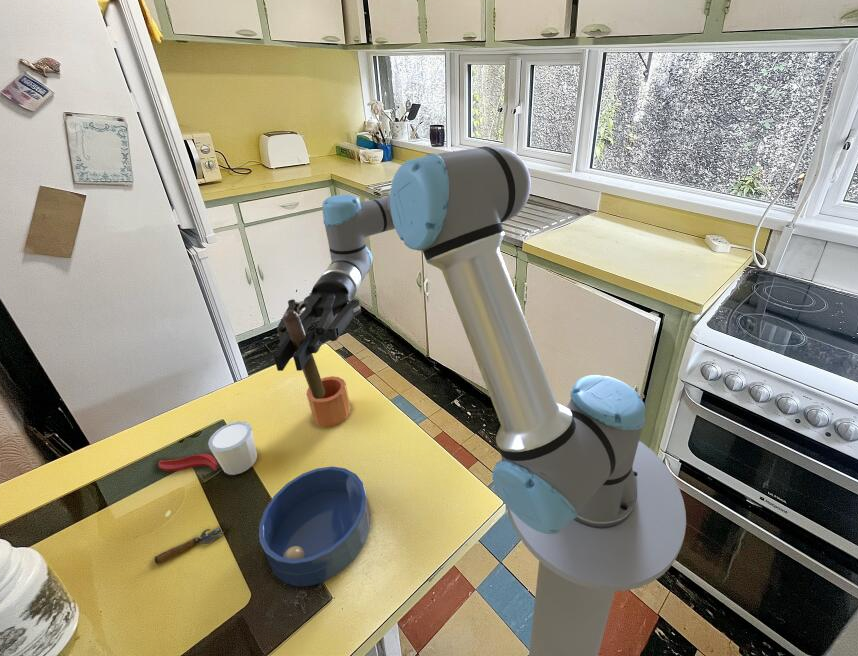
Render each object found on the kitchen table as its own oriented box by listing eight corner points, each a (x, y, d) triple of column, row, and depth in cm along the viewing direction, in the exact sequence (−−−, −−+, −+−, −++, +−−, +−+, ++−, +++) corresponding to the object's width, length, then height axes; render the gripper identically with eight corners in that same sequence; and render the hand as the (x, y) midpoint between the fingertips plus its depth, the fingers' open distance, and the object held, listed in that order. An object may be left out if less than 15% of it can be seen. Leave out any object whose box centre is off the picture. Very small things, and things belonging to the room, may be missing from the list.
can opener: (155, 566, 62) (153, 561, 61) (158, 551, 63) (156, 547, 63) (225, 537, 65) (223, 533, 65) (226, 524, 67) (224, 520, 67)
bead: (305, 546, 61) (300, 571, 59) (307, 544, 63) (302, 568, 62) (283, 546, 60) (278, 572, 58) (286, 545, 62) (281, 569, 61)
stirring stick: (328, 392, 75) (300, 308, 63) (322, 402, 73) (291, 317, 61) (317, 390, 75) (286, 306, 63) (310, 400, 73) (278, 315, 61)
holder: (356, 402, 92) (351, 378, 88) (339, 429, 85) (334, 404, 82) (324, 398, 93) (318, 374, 89) (305, 424, 86) (299, 399, 83)
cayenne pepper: (226, 460, 78) (223, 453, 77) (205, 482, 74) (202, 474, 73) (175, 447, 80) (171, 440, 79) (152, 467, 76) (148, 460, 75)
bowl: (384, 496, 72) (380, 473, 69) (343, 595, 58) (336, 571, 56) (304, 483, 74) (297, 461, 71) (246, 577, 60) (235, 553, 58)
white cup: (210, 472, 76) (198, 446, 72) (240, 443, 81) (230, 417, 78) (240, 482, 74) (229, 455, 71) (269, 451, 80) (260, 425, 77)
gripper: (377, 303, 85) (342, 382, 64) (302, 303, 84) (242, 383, 63) (372, 271, 81) (334, 343, 60) (294, 271, 81) (229, 343, 60)
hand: (288, 363), depth 62 cm, fingers closed on stirring stick, 2 cm apart
